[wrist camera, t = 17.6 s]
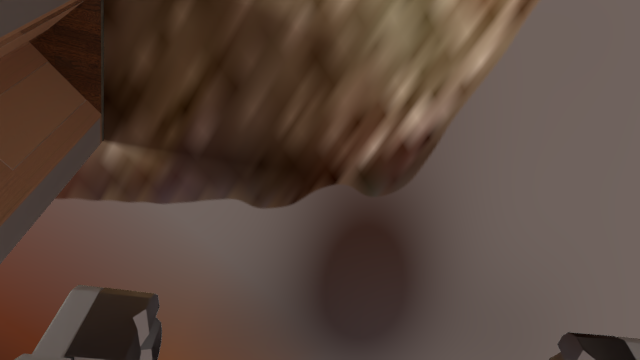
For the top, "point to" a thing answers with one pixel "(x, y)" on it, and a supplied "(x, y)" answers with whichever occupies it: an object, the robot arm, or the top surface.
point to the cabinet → (46, 104)
